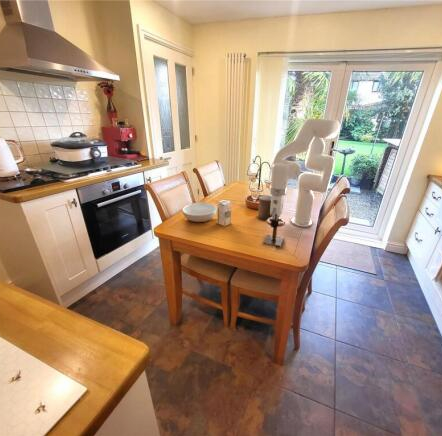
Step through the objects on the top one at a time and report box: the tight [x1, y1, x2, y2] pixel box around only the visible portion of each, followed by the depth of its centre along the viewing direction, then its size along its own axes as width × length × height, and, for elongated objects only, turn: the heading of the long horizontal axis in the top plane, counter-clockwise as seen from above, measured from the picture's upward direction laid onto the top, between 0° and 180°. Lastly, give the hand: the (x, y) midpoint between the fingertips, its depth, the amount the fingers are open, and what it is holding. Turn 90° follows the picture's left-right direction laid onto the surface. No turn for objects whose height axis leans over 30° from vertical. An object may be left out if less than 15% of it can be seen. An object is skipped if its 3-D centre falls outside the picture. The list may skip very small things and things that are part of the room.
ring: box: [266, 217, 286, 228], centre depth 118 cm, size 9×9×2 cm
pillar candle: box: [257, 194, 272, 222], centre depth 148 cm, size 10×10×15 cm
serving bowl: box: [182, 201, 218, 223], centre depth 145 cm, size 21×21×7 cm
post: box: [263, 227, 284, 249], centre depth 121 cm, size 9×9×13 cm
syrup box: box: [217, 199, 232, 227], centre depth 137 cm, size 6×6×14 cm
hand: (274, 225), depth 116 cm, fingers closed on ring, 2 cm apart
